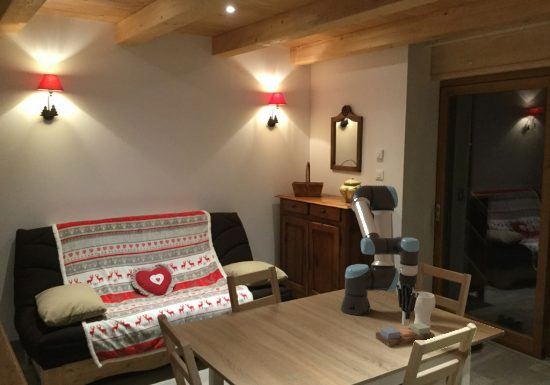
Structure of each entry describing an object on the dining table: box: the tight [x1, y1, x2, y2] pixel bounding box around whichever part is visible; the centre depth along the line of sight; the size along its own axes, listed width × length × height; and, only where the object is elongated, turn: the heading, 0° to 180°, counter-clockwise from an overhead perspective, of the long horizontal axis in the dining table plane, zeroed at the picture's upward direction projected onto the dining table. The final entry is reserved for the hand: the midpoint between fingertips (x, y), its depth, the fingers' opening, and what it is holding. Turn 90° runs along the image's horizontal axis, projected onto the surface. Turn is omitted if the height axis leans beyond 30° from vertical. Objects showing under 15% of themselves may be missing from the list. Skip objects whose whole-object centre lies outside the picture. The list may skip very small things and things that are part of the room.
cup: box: [413, 291, 436, 328], centre depth 231 cm, size 11×11×15 cm
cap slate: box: [379, 326, 400, 340], centre depth 212 cm, size 6×6×3 cm
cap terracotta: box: [395, 327, 415, 337], centre depth 215 cm, size 6×6×3 cm
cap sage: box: [409, 323, 431, 335], centre depth 218 cm, size 6×6×3 cm
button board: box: [375, 327, 436, 348], centre depth 215 cm, size 24×10×2 cm, turn 111°
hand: (405, 325), depth 215 cm, fingers closed
